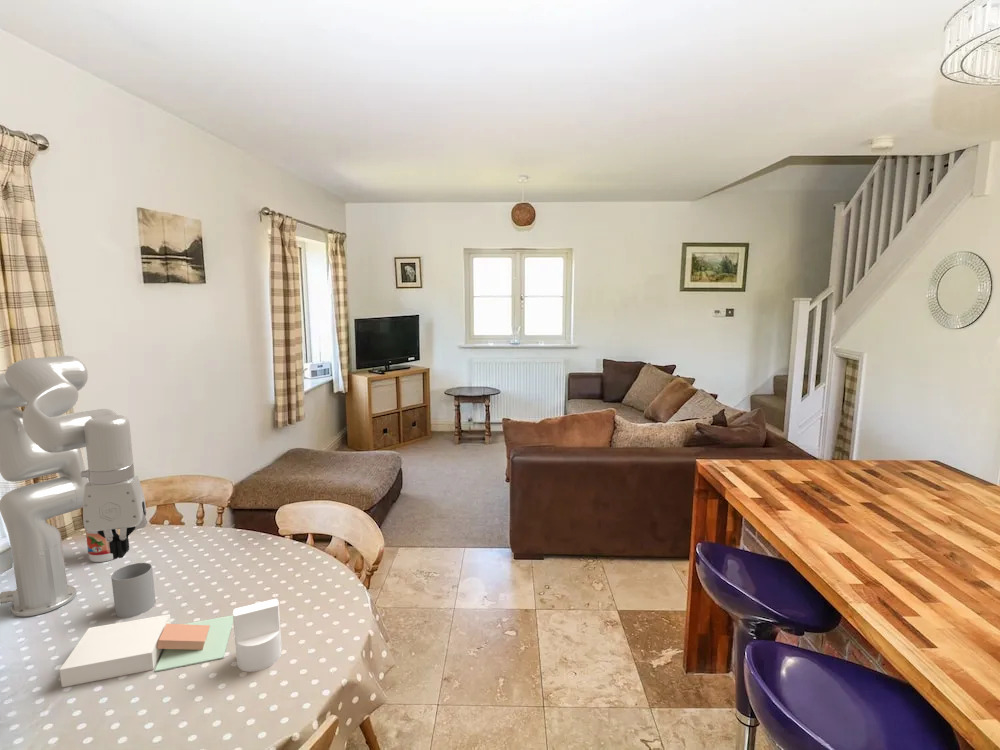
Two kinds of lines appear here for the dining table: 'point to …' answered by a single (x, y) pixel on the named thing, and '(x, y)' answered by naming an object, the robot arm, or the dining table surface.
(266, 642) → the cylinder with rectangular tab
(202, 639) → the tile
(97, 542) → the fruit juice
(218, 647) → the mat
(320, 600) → the dining table surface
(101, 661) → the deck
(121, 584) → the cup
